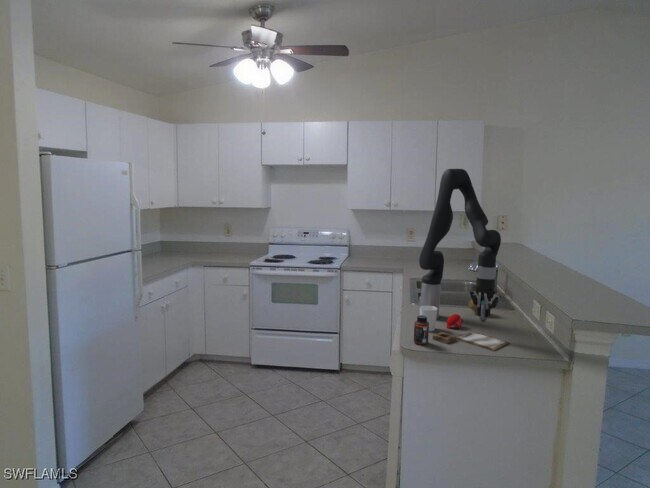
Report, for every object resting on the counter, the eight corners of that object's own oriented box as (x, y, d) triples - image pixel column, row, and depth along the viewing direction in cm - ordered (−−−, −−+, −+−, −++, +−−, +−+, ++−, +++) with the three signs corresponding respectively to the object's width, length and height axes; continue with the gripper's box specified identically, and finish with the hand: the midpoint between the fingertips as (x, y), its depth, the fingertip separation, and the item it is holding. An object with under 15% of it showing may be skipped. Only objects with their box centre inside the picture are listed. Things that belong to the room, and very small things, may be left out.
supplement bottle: (428, 345, 180) (429, 319, 178) (413, 344, 181) (414, 318, 179) (427, 340, 185) (429, 314, 184) (413, 339, 186) (414, 314, 185)
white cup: (427, 333, 195) (428, 311, 194) (414, 328, 202) (415, 306, 201) (439, 330, 200) (441, 308, 198) (427, 325, 206) (428, 304, 205)
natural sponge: (464, 314, 226) (466, 295, 224) (473, 310, 232) (474, 292, 230) (481, 318, 219) (483, 298, 218) (489, 314, 225) (491, 295, 224)
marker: (478, 321, 189) (479, 300, 188) (482, 319, 191) (483, 299, 190) (484, 322, 187) (485, 302, 186) (487, 321, 189) (489, 301, 188)
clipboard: (454, 338, 189) (454, 336, 189) (470, 332, 197) (470, 330, 197) (493, 351, 175) (494, 348, 175) (509, 343, 184) (509, 341, 184)
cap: (455, 317, 209) (446, 311, 207) (465, 316, 204) (455, 310, 202) (451, 332, 206) (442, 327, 204) (460, 332, 201) (451, 326, 199)
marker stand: (432, 339, 188) (432, 335, 187) (441, 335, 192) (442, 331, 192) (446, 343, 182) (446, 339, 182) (456, 340, 187) (456, 336, 187)
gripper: (466, 275, 189) (464, 314, 192) (497, 280, 179) (494, 321, 181) (475, 273, 194) (473, 311, 197) (506, 278, 184) (503, 318, 186)
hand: (483, 316), depth 189 cm, fingers closed on marker, 2 cm apart
